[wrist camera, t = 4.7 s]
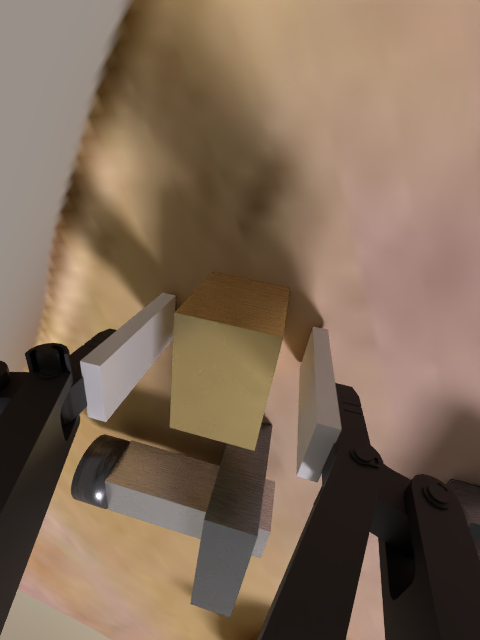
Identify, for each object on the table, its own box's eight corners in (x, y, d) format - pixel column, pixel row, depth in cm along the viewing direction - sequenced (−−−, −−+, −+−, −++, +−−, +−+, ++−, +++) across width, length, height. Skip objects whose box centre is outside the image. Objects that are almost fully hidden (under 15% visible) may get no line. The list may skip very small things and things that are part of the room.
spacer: (203, 364, 18) (169, 427, 13) (212, 271, 15) (174, 312, 10) (267, 380, 17) (254, 450, 13) (289, 287, 14) (283, 337, 10)
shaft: (112, 458, 22) (75, 512, 18) (108, 422, 20) (67, 474, 17) (266, 504, 21) (257, 572, 17) (277, 470, 19) (271, 537, 15)
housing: (218, 498, 23) (187, 614, 17) (234, 415, 19) (200, 531, 13) (446, 567, 21) (502, 725, 15) (523, 492, 17) (647, 672, 11)
